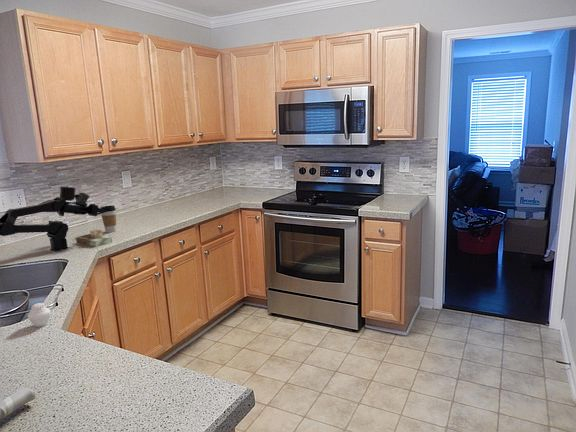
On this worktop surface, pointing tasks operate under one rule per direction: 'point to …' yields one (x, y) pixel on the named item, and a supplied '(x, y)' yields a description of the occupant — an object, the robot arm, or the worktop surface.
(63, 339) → the worktop surface
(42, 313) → the pale grey rounded lump
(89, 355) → the worktop surface
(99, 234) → the beech block
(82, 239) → the trap board
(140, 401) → the worktop surface
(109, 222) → the coffee cup
